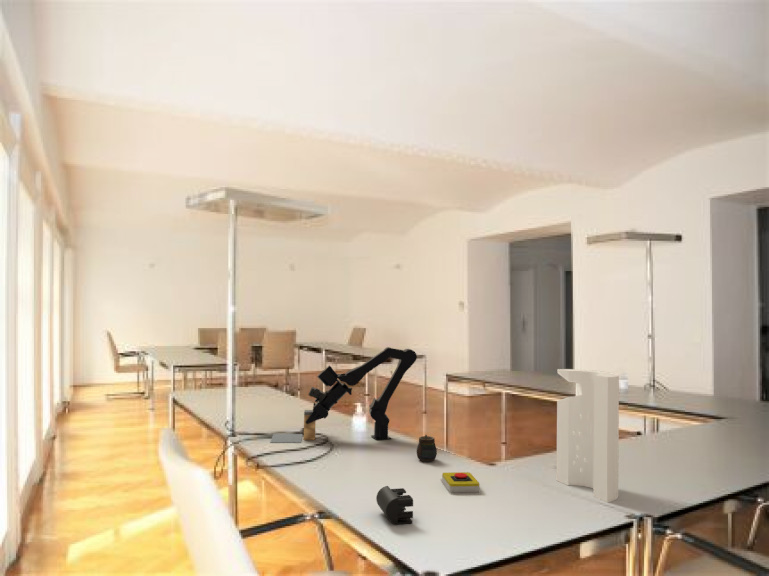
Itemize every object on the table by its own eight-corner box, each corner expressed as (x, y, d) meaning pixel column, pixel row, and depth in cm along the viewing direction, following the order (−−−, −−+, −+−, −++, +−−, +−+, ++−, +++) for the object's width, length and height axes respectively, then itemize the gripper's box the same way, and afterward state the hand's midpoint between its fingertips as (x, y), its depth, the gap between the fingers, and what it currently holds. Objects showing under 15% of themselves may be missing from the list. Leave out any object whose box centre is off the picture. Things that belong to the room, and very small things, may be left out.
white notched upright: (604, 502, 157) (554, 480, 176) (634, 497, 161) (582, 477, 180) (605, 377, 158) (555, 369, 177) (635, 376, 162) (583, 368, 182)
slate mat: (302, 434, 232) (302, 434, 232) (301, 442, 219) (301, 442, 219) (273, 434, 231) (273, 434, 231) (270, 442, 217) (270, 442, 217)
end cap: (375, 512, 146) (376, 486, 146) (401, 510, 148) (402, 484, 148) (385, 527, 136) (386, 499, 136) (413, 524, 138) (413, 497, 138)
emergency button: (450, 481, 161) (439, 466, 175) (450, 496, 160) (439, 480, 175) (482, 481, 162) (468, 466, 177) (482, 496, 162) (468, 480, 176)
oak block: (315, 437, 228) (315, 410, 229) (314, 439, 224) (315, 412, 224) (304, 437, 228) (304, 410, 228) (303, 439, 223) (304, 412, 224)
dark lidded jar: (435, 457, 200) (436, 429, 201) (438, 463, 193) (438, 434, 193) (415, 457, 200) (416, 429, 201) (417, 463, 193) (418, 434, 193)
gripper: (320, 377, 236) (293, 403, 235) (320, 383, 218) (291, 412, 216) (339, 396, 237) (312, 422, 235) (340, 404, 218) (311, 432, 217)
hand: (306, 421), depth 226 cm, fingers closed on oak block, 4 cm apart
